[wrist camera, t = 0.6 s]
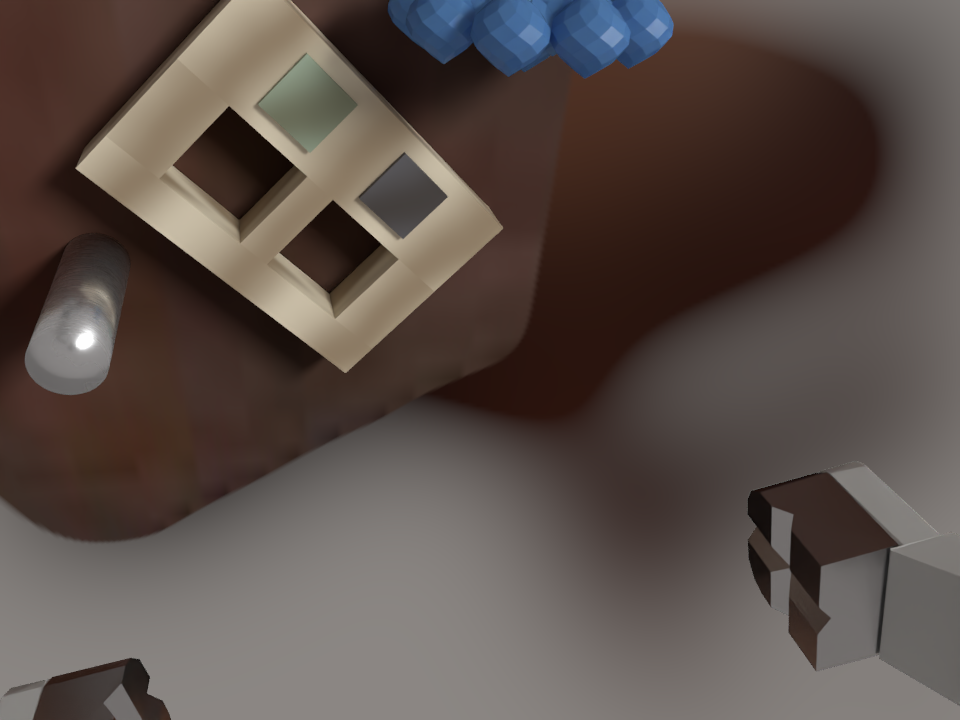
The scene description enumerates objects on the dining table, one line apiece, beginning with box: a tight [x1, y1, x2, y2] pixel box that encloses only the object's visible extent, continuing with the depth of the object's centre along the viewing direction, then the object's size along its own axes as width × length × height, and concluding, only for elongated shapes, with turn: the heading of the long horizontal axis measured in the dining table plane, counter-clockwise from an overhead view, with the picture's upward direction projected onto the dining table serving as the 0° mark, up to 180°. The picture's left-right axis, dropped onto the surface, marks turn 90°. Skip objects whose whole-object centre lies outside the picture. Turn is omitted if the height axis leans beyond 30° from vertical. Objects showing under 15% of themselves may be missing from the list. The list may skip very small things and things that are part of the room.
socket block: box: [75, 0, 503, 373], centre depth 42 cm, size 17×12×3 cm
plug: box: [25, 233, 131, 395], centre depth 39 cm, size 3×3×10 cm
